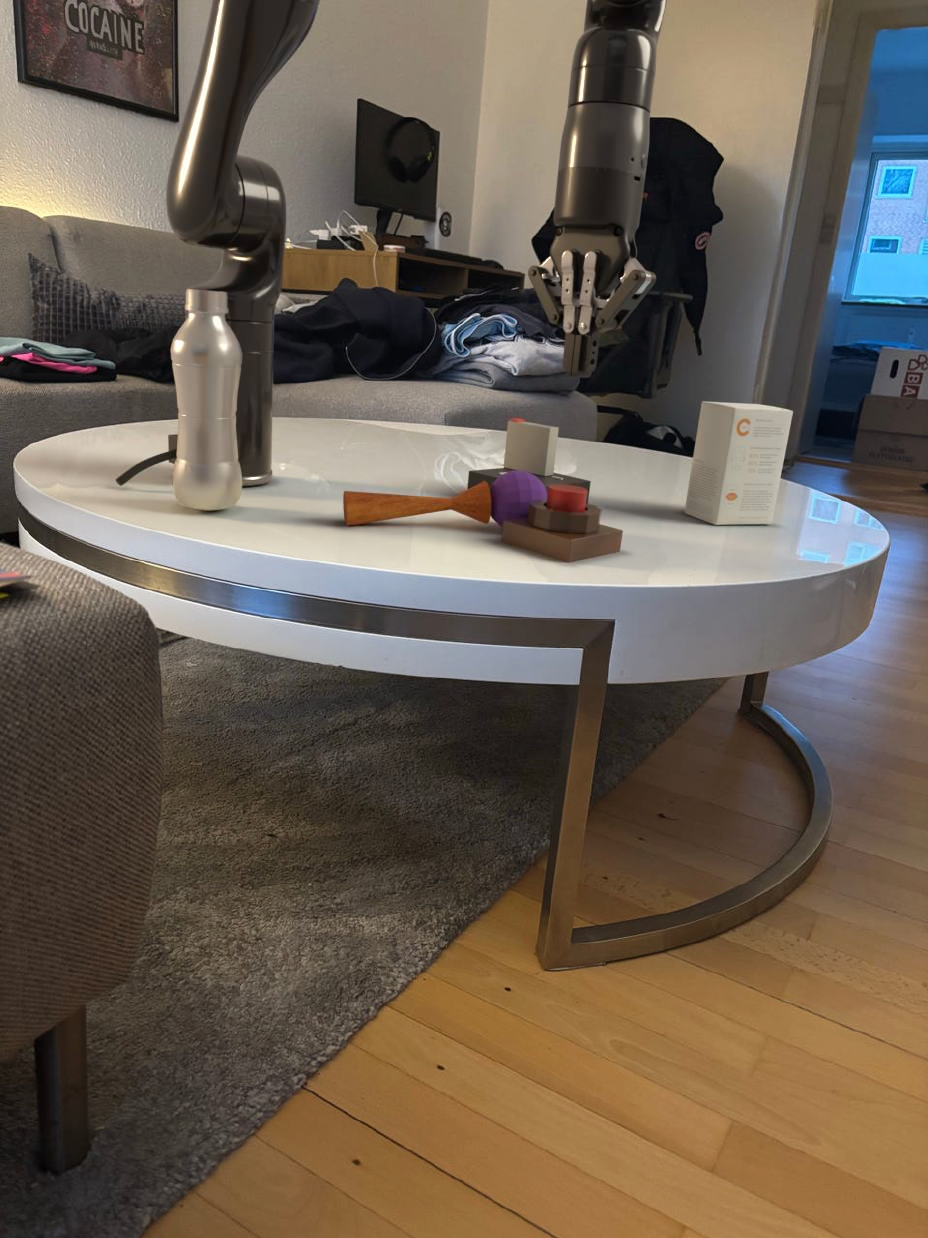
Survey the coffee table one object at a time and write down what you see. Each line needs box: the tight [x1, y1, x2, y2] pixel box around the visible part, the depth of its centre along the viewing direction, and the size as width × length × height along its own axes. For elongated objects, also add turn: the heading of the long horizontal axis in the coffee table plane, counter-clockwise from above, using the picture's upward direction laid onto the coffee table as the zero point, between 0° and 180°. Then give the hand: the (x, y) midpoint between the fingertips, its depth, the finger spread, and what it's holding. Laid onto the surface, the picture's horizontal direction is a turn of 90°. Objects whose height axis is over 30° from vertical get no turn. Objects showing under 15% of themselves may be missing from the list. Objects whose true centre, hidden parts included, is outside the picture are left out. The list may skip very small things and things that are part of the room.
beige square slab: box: [503, 417, 560, 476], centre depth 107 cm, size 6×2×6 cm, turn 50°
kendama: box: [342, 470, 547, 529], centre depth 89 cm, size 6×6×20 cm
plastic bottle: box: [170, 288, 243, 512], centre depth 85 cm, size 6×7×20 cm
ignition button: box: [546, 484, 587, 512], centre depth 84 cm, size 4×4×2 cm
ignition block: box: [500, 499, 624, 564], centre depth 85 cm, size 8×8×4 cm
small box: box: [684, 400, 794, 526], centre depth 104 cm, size 8×6×13 cm
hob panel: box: [466, 462, 592, 504], centre depth 107 cm, size 12×12×3 cm
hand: (578, 376), depth 84 cm, fingers closed
